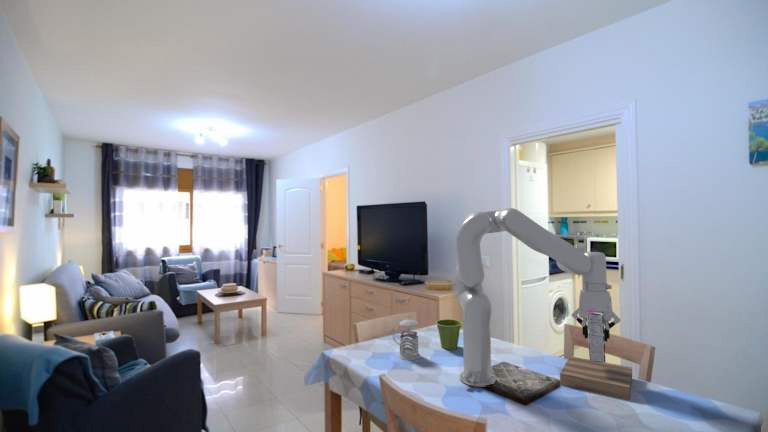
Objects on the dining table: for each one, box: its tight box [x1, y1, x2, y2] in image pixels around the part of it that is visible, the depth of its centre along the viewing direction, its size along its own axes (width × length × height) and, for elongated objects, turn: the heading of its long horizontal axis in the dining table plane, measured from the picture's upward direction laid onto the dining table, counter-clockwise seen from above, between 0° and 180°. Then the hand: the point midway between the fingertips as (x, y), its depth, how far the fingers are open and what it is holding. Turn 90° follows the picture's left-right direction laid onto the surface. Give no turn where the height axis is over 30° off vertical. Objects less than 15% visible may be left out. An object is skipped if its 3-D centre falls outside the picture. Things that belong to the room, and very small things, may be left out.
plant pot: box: [435, 318, 463, 351], centre depth 169 cm, size 12×12×11 cm
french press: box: [392, 296, 421, 361], centre depth 159 cm, size 10×12×25 cm
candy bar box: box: [586, 311, 606, 363], centre depth 131 cm, size 11×5×16 cm, turn 152°
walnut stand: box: [559, 355, 633, 401], centre depth 130 cm, size 20×20×4 cm
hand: (596, 338), depth 131 cm, fingers closed on candy bar box, 5 cm apart
